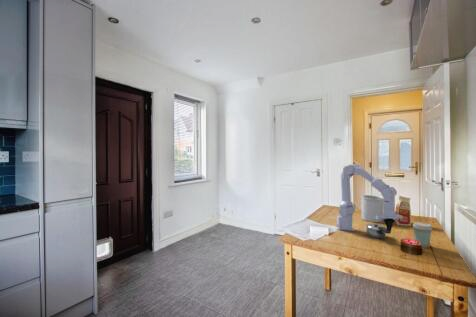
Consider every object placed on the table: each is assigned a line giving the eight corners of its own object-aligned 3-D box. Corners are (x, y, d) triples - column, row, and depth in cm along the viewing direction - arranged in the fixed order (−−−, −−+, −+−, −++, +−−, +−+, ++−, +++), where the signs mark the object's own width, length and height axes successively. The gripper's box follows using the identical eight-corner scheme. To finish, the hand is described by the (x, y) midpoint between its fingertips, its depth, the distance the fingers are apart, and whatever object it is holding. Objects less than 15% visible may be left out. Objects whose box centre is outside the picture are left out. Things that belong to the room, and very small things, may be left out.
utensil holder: (383, 218, 178) (383, 195, 177) (383, 223, 166) (383, 199, 165) (361, 215, 186) (362, 194, 185) (360, 220, 174) (360, 197, 173)
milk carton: (397, 224, 163) (397, 196, 163) (394, 220, 172) (394, 194, 171) (412, 226, 160) (413, 197, 159) (408, 222, 168) (409, 195, 168)
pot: (362, 231, 151) (362, 224, 151) (379, 232, 149) (379, 224, 149) (373, 241, 134) (373, 233, 134) (392, 242, 133) (392, 234, 132)
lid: (362, 225, 148) (362, 222, 148) (377, 224, 149) (377, 221, 149) (380, 234, 132) (380, 230, 132) (397, 233, 133) (397, 230, 133)
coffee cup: (433, 250, 122) (433, 227, 122) (413, 246, 127) (413, 225, 126) (430, 244, 130) (430, 223, 129) (411, 241, 134) (411, 220, 134)
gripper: (381, 210, 130) (381, 234, 130) (406, 209, 130) (406, 233, 131) (373, 207, 137) (373, 229, 137) (397, 206, 138) (397, 229, 138)
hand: (388, 231), depth 135 cm, fingers closed, pressing on lid
